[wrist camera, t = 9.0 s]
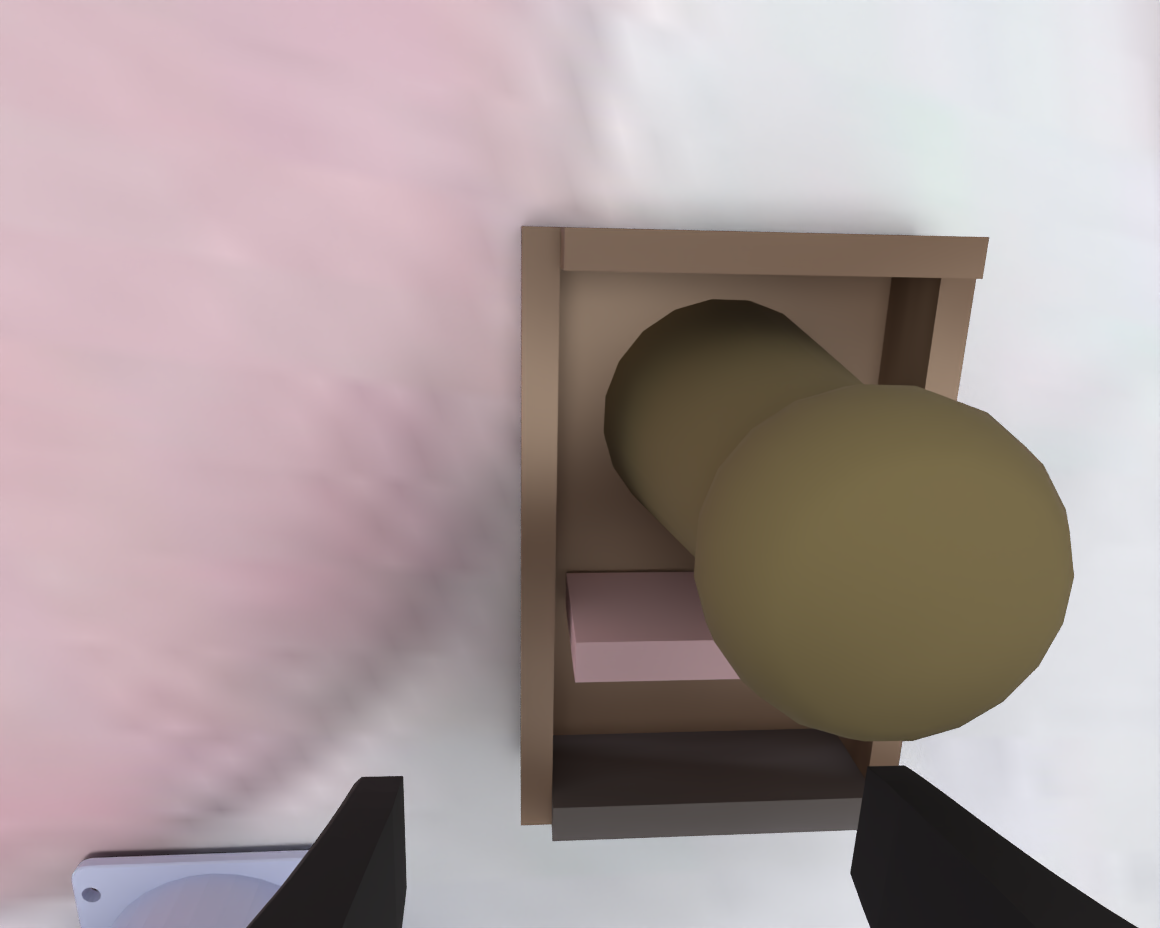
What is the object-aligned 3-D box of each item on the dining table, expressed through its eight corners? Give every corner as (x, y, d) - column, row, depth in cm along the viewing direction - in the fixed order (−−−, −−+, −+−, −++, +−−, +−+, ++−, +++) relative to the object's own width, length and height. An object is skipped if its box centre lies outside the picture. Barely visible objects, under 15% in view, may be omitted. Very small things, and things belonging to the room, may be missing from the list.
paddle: (840, 603, 22) (901, 675, 19) (565, 607, 21) (575, 682, 18) (844, 569, 22) (907, 637, 18) (566, 572, 21) (576, 642, 18)
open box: (847, 743, 24) (919, 857, 20) (520, 752, 24) (521, 872, 19) (916, 235, 20) (1027, 238, 16) (521, 226, 19) (522, 226, 15)
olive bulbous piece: (590, 314, 20) (675, 416, 9) (831, 284, 20) (1187, 348, 9) (615, 541, 21) (711, 847, 11) (836, 510, 22) (1140, 780, 11)
